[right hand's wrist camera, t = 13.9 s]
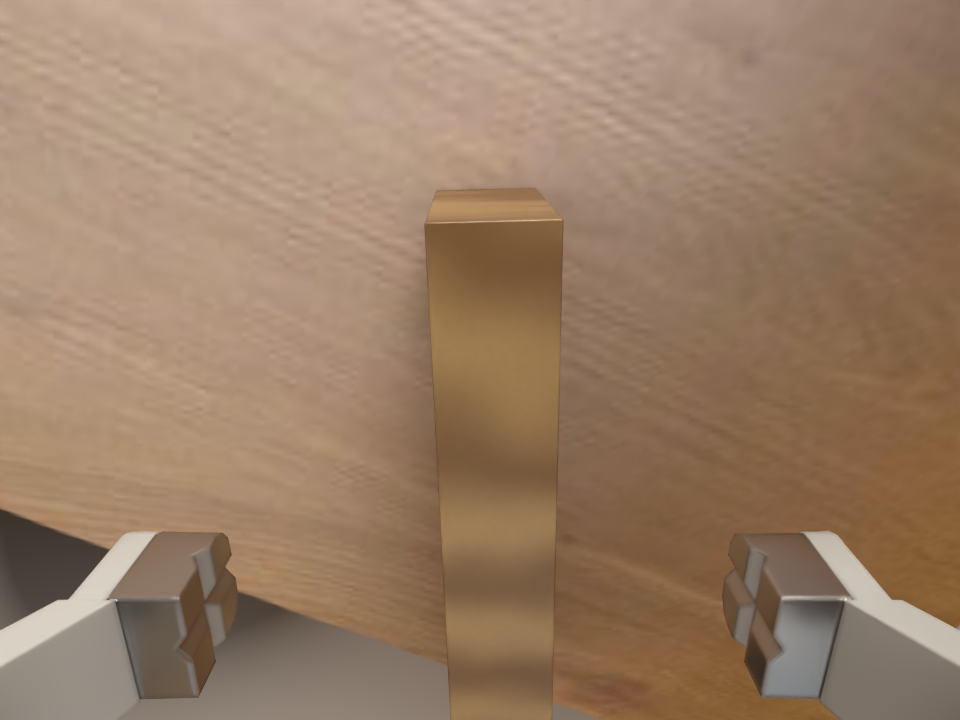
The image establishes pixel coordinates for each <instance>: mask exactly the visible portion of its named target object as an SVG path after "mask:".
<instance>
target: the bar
mask: <svg viewBox="0 0 960 720" xmlns="http://www.w3.org/2000/svg"><path fill="white" fill-rule="evenodd" d="M424 225H425V243H426V262H427V281H428V300H429V319H430V338H431V357H432V376H433V394H434V413H435V432H436V451H437V470H438V489H439V508H440V527H441V546H442V564H443V583H444V602H445V621H446V640H447V659H448V678H449V697H450V716H451V720H552V696H553V653H554V609H555V565H556V521H557V477H558V433H559V389H560V345H561V301H562V257H563V219H562V218H561V217H560V215H559V214H558V213H557V212H556V211H555V210H554V209H553V207H552V206H551V205H550V204H549V203H548V202H547V201H546V199H545V198H544V197H543V196H542V195H541V194H540V193H539V191H538V190H537V189H536V188H515V189H476V190H438V191H436V193H435V196H434V199H433V202H432V205H431V208H430V210H429V213H428V216H427V219H426V222H425V224H424Z"/></svg>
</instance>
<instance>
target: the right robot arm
mask: <svg viewBox="0 0 960 720" xmlns="http://www.w3.org/2000/svg"><path fill="white" fill-rule="evenodd" d="M231 555H232V554H231V549H230V545H229V540H228V537H227V536H226V535H224V534H223V533H206V532H143V531H132V532H129V533H126V534H124V535H123V536H122V537H121V538H120V539H119V540H118V541H117V543H116V544H115V545H114V546H113V547H112V548H111V550H110V551H109V552H108V553H107V554H106V556H105V557H104V558H103V559H102V561H101V562H100V563H99V564H98V565H97V566H96V567H95V569H94V570H93V571H92V572H91V573H90V575H89V576H88V577H87V578H86V579H85V581H84V582H83V583H82V584H81V585H80V586H79V588H78V589H77V590H76V591H75V592H74V594H73V595H72V596H71V597H70V598H69V600H57V601H55V602H53V603H51V604H49V605H48V606H46V607H44V608H42V609H40V610H38V611H36V612H34V613H32V614H31V615H29V616H27V617H25V618H23V619H21V620H19V621H17V622H15V623H14V624H12V625H10V626H8V627H6V628H4V629H2V630H0V720H121V719H122V718H123V717H124V716H125V715H126V714H127V713H129V712H130V711H131V710H132V709H133V708H134V707H135V706H137V705H138V704H139V703H140V699H164V698H198V697H199V695H200V693H201V691H202V689H203V687H204V685H205V683H206V681H207V679H208V676H209V675H210V672H211V670H212V668H213V666H214V664H215V662H216V660H215V654H214V649H213V648H215V647H216V646H217V645H219V644H220V643H221V642H223V641H224V640H225V639H227V637H228V634H229V632H230V630H231V628H232V626H233V623H234V618H235V613H236V608H237V585H236V578H235V577H234V576H233V575H232V574H231V573H230V572H229V571H228V570H227V569H226V568H225V566H226V564H227V562H228V561H229V559H230V557H231ZM728 555H729V557H730V559H731V561H732V562H733V564H734V566H735V568H734V569H733V570H732V571H731V572H730V573H729V574H728V575H727V576H726V577H725V578H724V586H723V594H722V597H723V608H724V615H725V619H726V622H727V626H728V628H729V630H730V632H731V635H732V637H733V639H735V640H736V641H737V642H739V643H740V644H741V645H743V646H744V647H745V648H747V649H746V654H745V660H744V662H745V664H746V666H747V668H748V670H749V672H750V674H751V677H752V679H753V681H754V683H755V685H756V687H757V689H758V691H759V693H760V695H761V697H762V698H795V699H820V703H821V704H823V705H824V706H825V707H826V708H827V709H828V710H829V711H831V712H832V713H833V714H834V715H835V716H836V717H837V718H839V719H840V720H960V630H958V629H956V628H954V627H952V626H950V625H948V624H946V623H944V622H943V621H941V620H939V619H937V618H935V617H933V616H931V615H929V614H927V613H926V612H924V611H922V610H920V609H918V608H916V607H914V606H912V605H910V604H909V603H907V602H905V601H903V600H891V598H890V597H889V596H888V595H887V594H886V592H885V591H884V590H883V589H882V588H881V586H880V585H879V584H878V583H877V582H876V581H875V579H874V578H873V577H872V576H871V575H870V573H869V572H868V571H867V570H866V569H865V568H864V566H863V565H862V564H861V563H860V562H859V560H858V559H857V558H856V557H855V556H854V554H853V553H852V552H851V551H850V550H849V549H848V547H847V546H846V545H845V544H844V543H843V541H842V540H841V539H840V538H839V537H838V536H837V535H836V534H834V533H832V532H830V531H815V532H798V533H736V534H734V536H733V538H732V540H731V543H730V549H729V554H728Z"/></svg>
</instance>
